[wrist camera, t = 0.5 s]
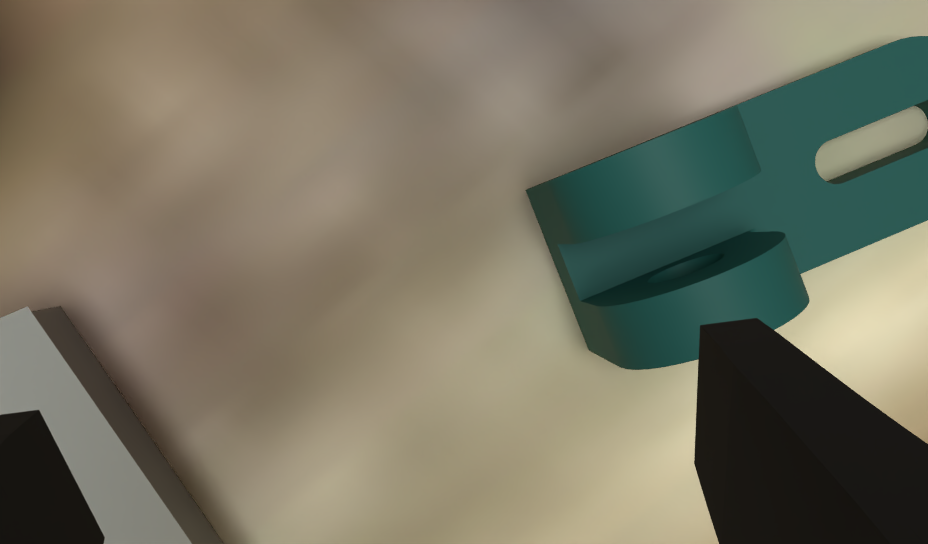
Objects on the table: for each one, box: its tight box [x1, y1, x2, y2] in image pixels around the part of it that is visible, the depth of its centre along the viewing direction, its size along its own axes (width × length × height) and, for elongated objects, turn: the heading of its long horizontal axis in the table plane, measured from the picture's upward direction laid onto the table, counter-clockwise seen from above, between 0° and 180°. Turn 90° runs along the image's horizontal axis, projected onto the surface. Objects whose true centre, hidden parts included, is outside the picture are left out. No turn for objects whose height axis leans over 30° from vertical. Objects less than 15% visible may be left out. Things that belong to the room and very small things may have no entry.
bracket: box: [526, 36, 928, 370], centre depth 29 cm, size 18×7×8 cm, turn 112°
